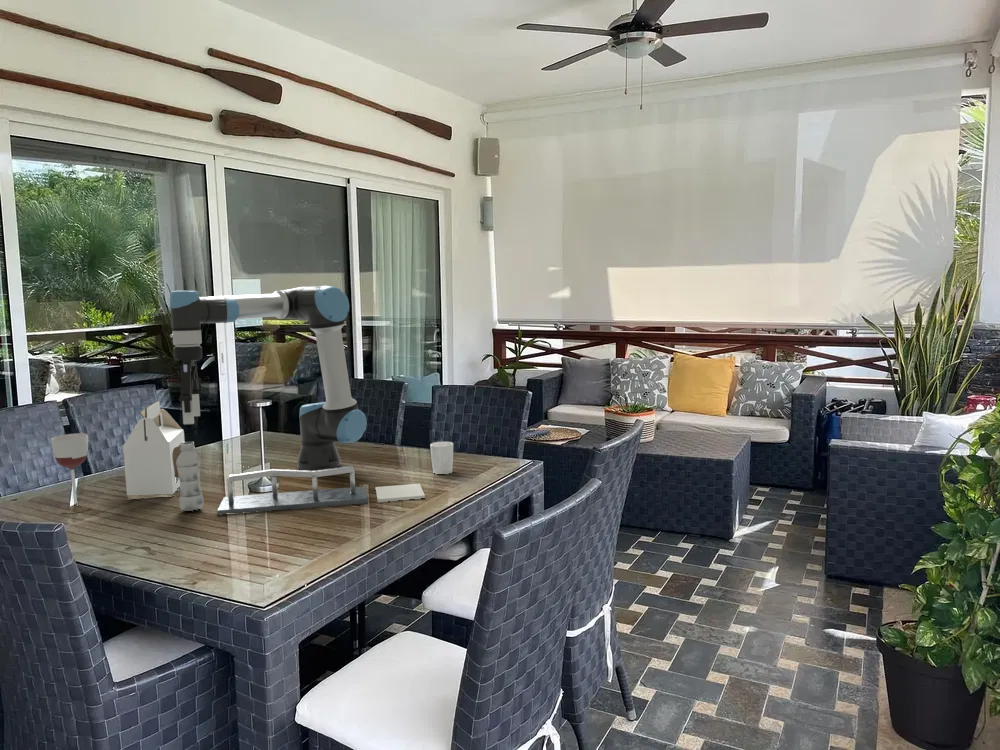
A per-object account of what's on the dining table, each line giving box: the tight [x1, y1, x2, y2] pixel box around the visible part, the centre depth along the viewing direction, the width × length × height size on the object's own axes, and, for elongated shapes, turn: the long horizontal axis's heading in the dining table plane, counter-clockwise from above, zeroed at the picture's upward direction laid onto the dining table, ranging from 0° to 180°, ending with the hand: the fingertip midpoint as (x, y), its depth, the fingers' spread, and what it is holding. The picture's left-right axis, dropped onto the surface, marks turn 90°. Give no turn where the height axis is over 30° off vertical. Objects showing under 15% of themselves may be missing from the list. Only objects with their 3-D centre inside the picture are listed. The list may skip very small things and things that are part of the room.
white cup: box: [429, 441, 454, 475], centre depth 252 cm, size 8×8×10 cm
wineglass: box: [51, 432, 89, 505], centre depth 216 cm, size 9×10×22 cm
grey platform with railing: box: [216, 465, 369, 514], centre depth 219 cm, size 14×42×10 cm, turn 103°
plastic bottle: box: [176, 441, 204, 512], centre depth 212 cm, size 6×7×20 cm
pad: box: [375, 483, 426, 503], centre depth 226 cm, size 14×14×1 cm
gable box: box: [122, 400, 186, 496], centre depth 236 cm, size 22×13×28 cm, turn 12°
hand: (192, 420), depth 209 cm, fingers open, 13 cm apart
